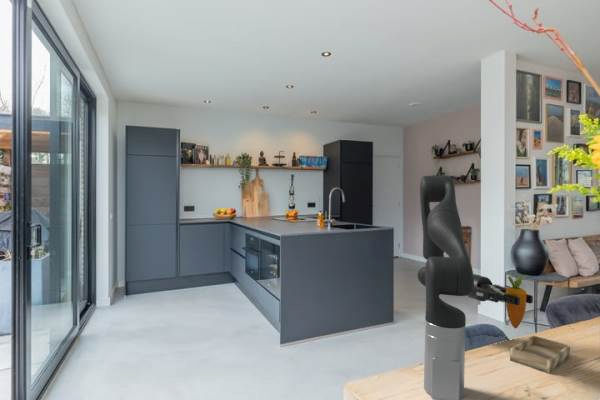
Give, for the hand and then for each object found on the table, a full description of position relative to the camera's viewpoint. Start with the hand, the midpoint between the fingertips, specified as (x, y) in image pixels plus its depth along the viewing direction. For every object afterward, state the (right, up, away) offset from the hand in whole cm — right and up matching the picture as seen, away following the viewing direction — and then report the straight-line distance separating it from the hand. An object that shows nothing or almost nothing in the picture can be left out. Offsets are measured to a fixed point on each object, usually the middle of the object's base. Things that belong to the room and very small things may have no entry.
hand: (525, 300), depth 95 cm
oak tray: (+12, -21, +11) cm, 26 cm away
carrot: (-1, -9, +2) cm, 9 cm away
